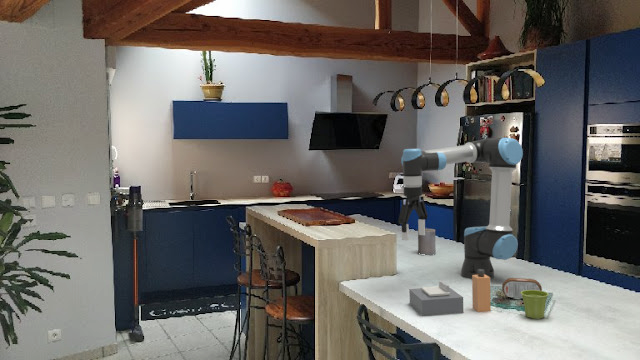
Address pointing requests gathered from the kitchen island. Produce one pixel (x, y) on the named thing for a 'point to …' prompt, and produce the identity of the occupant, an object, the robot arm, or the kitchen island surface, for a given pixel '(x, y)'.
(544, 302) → the plant pot
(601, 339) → the kitchen island surface
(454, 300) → the socket
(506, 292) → the tin
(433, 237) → the pillar candle
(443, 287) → the shutter
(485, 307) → the orange square bottle
